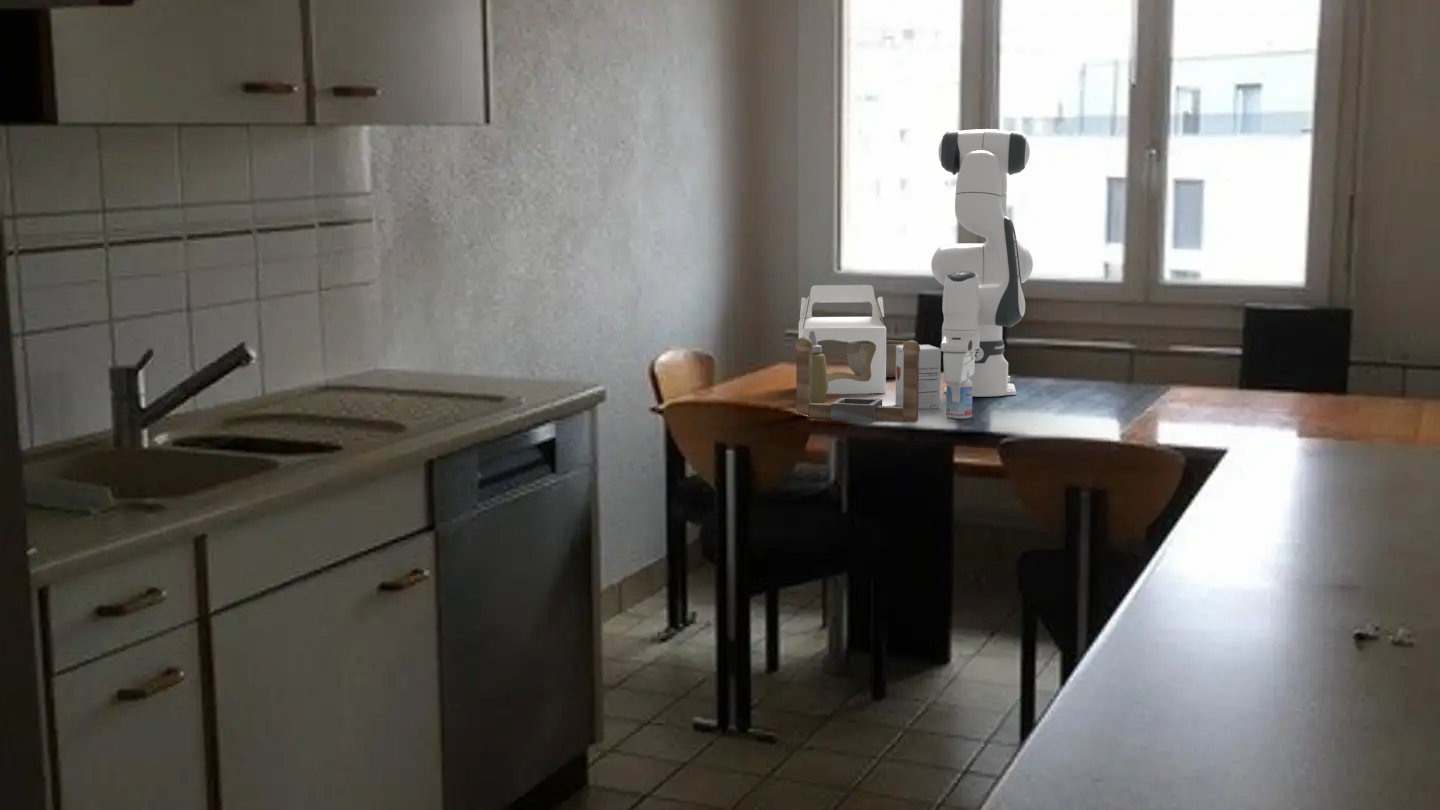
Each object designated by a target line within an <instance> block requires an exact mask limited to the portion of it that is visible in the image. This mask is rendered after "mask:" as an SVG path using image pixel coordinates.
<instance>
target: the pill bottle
mask: <svg viewBox="0 0 1440 810" xmlns="http://www.w3.org/2000/svg"><path fill="white" fill-rule="evenodd" d="M968 377H969V371H967V380H965V381H964V382H962V383H961V387H960V394H961V400H960V401H959V402H953V401H952V392H951V384H946V387H947V392H945V393H946V397H945V398H946V399H945V400H946V401H945V403H946V405H945V406H946V407H945V415H946V417H947V418H948V419H952V418H954V419H953V420H955V419H957V420H958V419H959V420H966V419H970V418H972V416H973V396H972V382H971V381H970V380H968Z"/></svg>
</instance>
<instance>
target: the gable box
mask: <svg viewBox="0 0 1440 810" xmlns="http://www.w3.org/2000/svg"><path fill="white" fill-rule="evenodd" d="M800 299H801V300H800V309H799V311H800V312H799V321H798V339H799V338H801V337H807V338H809V334H810V331H815V335H816V339H817V343H819V342H820V341H836V342H837V341H838V342H843V343H844V342H845V343H848V342H856V341H870V345H869V349H868V351H867V354H866V357H865V366H866V370H865V373H864V374H862V375H857V374H854V373H851V372H845V371H834V372H829V373H827V380H828V390H827V393H826V395H854V394H855V395H866V394H867V395H872V394H873V393H885V394H886V393H887V385H886V384H887V379H886V340H887V326H886V322H885V319H884V317H885V311H884V299H883V296H878V297H877V295H875V291H874V286H873V285H872V284H829V285H828V284H817V285H816V284H813V285H812V286H811V287H810V291H809V295H808V296H807V298H806V297H805V296H804V297H803V296H802V297H801V298H800ZM819 303H821V304H822V303H823V304H824V303H866V304H867V303H869V304H870V305H871V316H818V317H817V316H813V314H812V313H813V312H812V311H813V309H812V308H813V306H814V304H819ZM870 393H872V394H870ZM873 395H874V394H873Z"/></svg>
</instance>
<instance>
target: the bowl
mask: <svg viewBox="0 0 1440 810" xmlns="http://www.w3.org/2000/svg"><path fill="white" fill-rule="evenodd" d="M906 342H907V341H906V340H905V341H904V340H892V339H891V340H889V339H888V340H887V339H886V378H887V377H889V378H896V346H899V345H904V344H905V343H906ZM869 345H870V341H856V342H847V346H846V358H847V359H846V360H847V363H848V365H849V368H850V371H851V372H852V373H853V374H854V375H862V374H864V373H865V370H866V366H865V357H866V354H867V351H868V349H869Z"/></svg>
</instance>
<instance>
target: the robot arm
mask: <svg viewBox="0 0 1440 810" xmlns="http://www.w3.org/2000/svg"><path fill="white" fill-rule="evenodd" d="M1030 150H1031V149H1030V145H1029V142H1028V139H1027V136H1026V134H1024V133H1022V132H1021V131H1015V130H1011V131H1008V130H1002V129H1001V130H1000V129H991V128H985V129H965V130H959V129H956V130H950V131H947V132H945V133H944V134H943V136H942V139H941V140H940V143H939V146H938V158H939V162H940V164H941V167H942V168H943V169H944V170H945V171H946V172H949V173H952V175H953V176H956V174H958V175H957V180H956V187H955V199H954V213H955V218H956V220H957V222H958V224H960V225H961V226H962V227H963V228H964V229H965V230H967V231H969V232H971V234H975V235H976V236H978V237H982V238H984V239H985V241H984V242H981V243H952V244H947V245H943V246H939V247H938V248H937V250H935V252H934V254H933V256H932V258H931V264H930V265H931V267H930V269H931V272H932V275H933V276H934V279H935V280H936V281H937V282H938V283H939V284H940V285H942V286H943V291H942V307H941V308H942V309H941V310H942V314H943V321H942V326H941V343H940V349H941V353H942V352H943V353H942V354H943V355H942V360H943V362H942V363H943V364H942V365H943V375H944V376H943V377H944V382H945V384H946V385H947V384H951V392H952V401H953V402H959V401H960V400H961V394H960V387H961V383H962V382H964V381H965V380H967V371H969V377H968V380H970V381H971V382H972V397H1000V396H1002V397H1003V396H1015V395H1017V390H1016V386H1015V384H1014V383H1010V382H1011V380H1012V379H1011V378H1012V377H1011V376H1010V375H1009V362H1008V360H1006V359H1005V356H1004V353H1005V343H1004V342H1005V341H1004V339H1003V327H1004V328H1005V327H1006V328H1013V327H1014V326H1015V325H1017V324H1018V323H1019V322H1021V321H1022V319H1023V318H1024V317H1025V312H1026V301H1025V296H1024V291H1023V285H1022V284H1023V283H1025V282H1027V281H1028V279H1029V277H1030V276H1031V274H1032V273H1033V268H1034V262H1033V261H1034V260H1033V257H1032V254H1031V253H1030V251H1029V249H1027V247H1026V246H1024V245H1023V244H1022V243H1020V242H1019V241H1018V239H1017V234H1016V229H1015V225H1014V222H1013V221H1012V219H1011V218H1009V217H1008V216H1007V215H1008V214H1007V196H1008V195H1007V194H1008V193H1007V190H1008V188H1007V187H1008V180H1007V179H1008V178H1007V174H1008V175H1010V176H1012V175H1014V174H1018V173H1021V172H1022V171H1023V170H1025V168H1026V165H1027V164H1028V162H1029V159H1030V153H1031V151H1030ZM943 393H947V386H946V387H944V388H943Z"/></svg>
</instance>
